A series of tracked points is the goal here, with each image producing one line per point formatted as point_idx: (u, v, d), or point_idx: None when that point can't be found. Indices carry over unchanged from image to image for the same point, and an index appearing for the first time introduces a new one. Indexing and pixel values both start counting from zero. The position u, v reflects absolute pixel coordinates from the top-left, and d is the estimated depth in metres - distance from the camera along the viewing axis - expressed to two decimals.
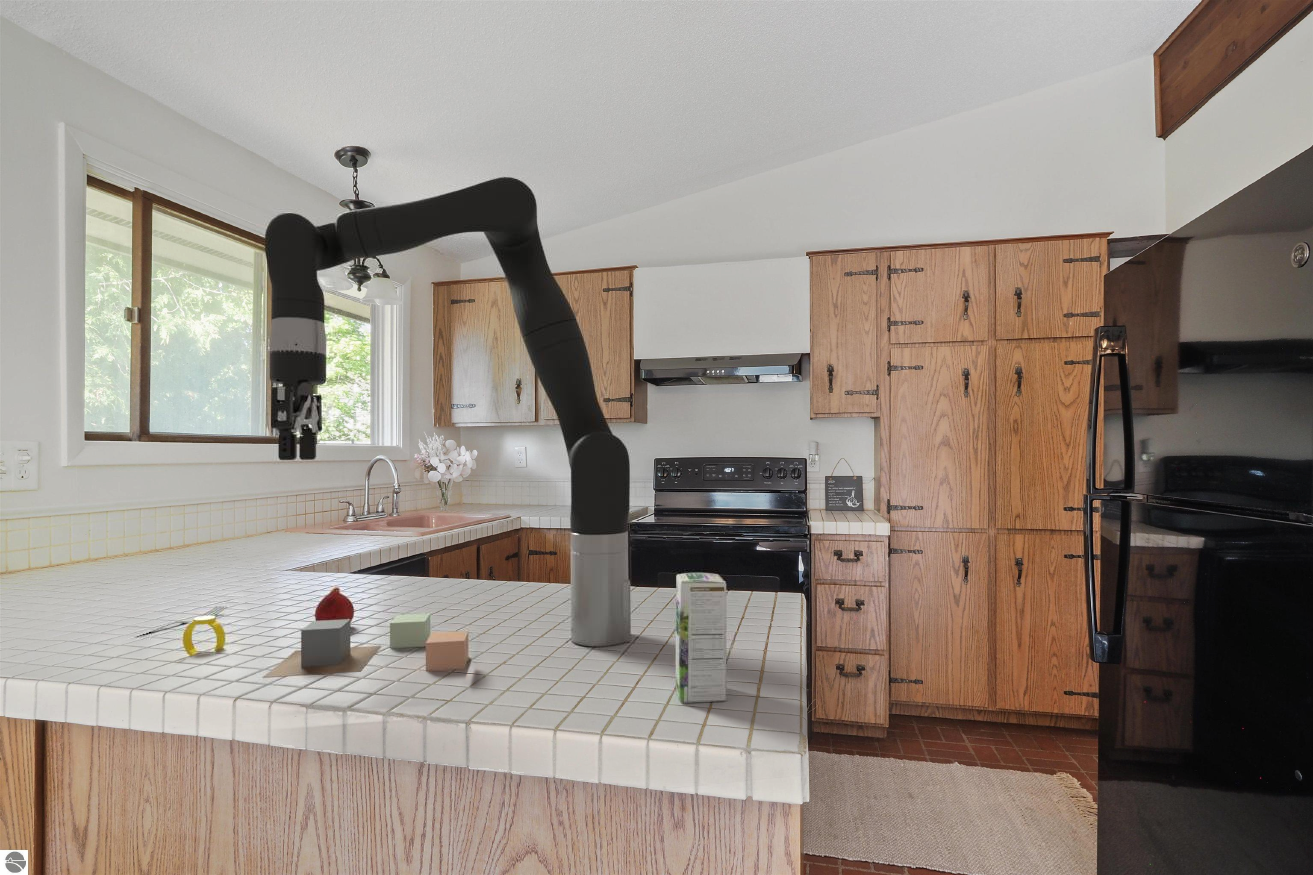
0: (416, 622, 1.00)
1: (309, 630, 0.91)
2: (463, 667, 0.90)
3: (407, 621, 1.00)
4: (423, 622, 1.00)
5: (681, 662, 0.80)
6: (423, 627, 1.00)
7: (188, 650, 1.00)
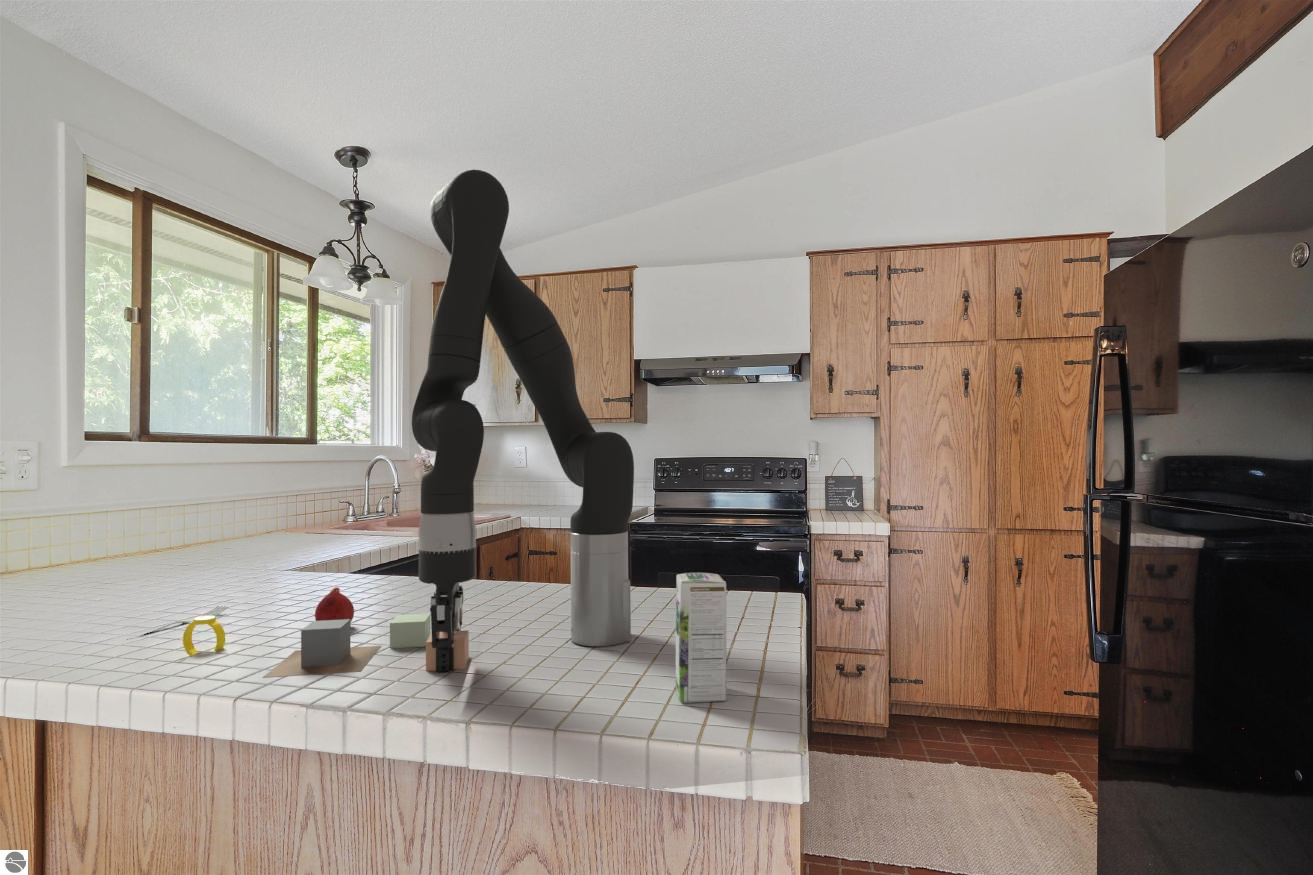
0: (416, 622, 1.00)
1: (309, 630, 0.91)
2: (463, 666, 0.90)
3: (406, 621, 1.00)
4: (423, 622, 1.00)
5: (681, 662, 0.80)
6: (423, 627, 1.00)
7: (188, 650, 1.00)
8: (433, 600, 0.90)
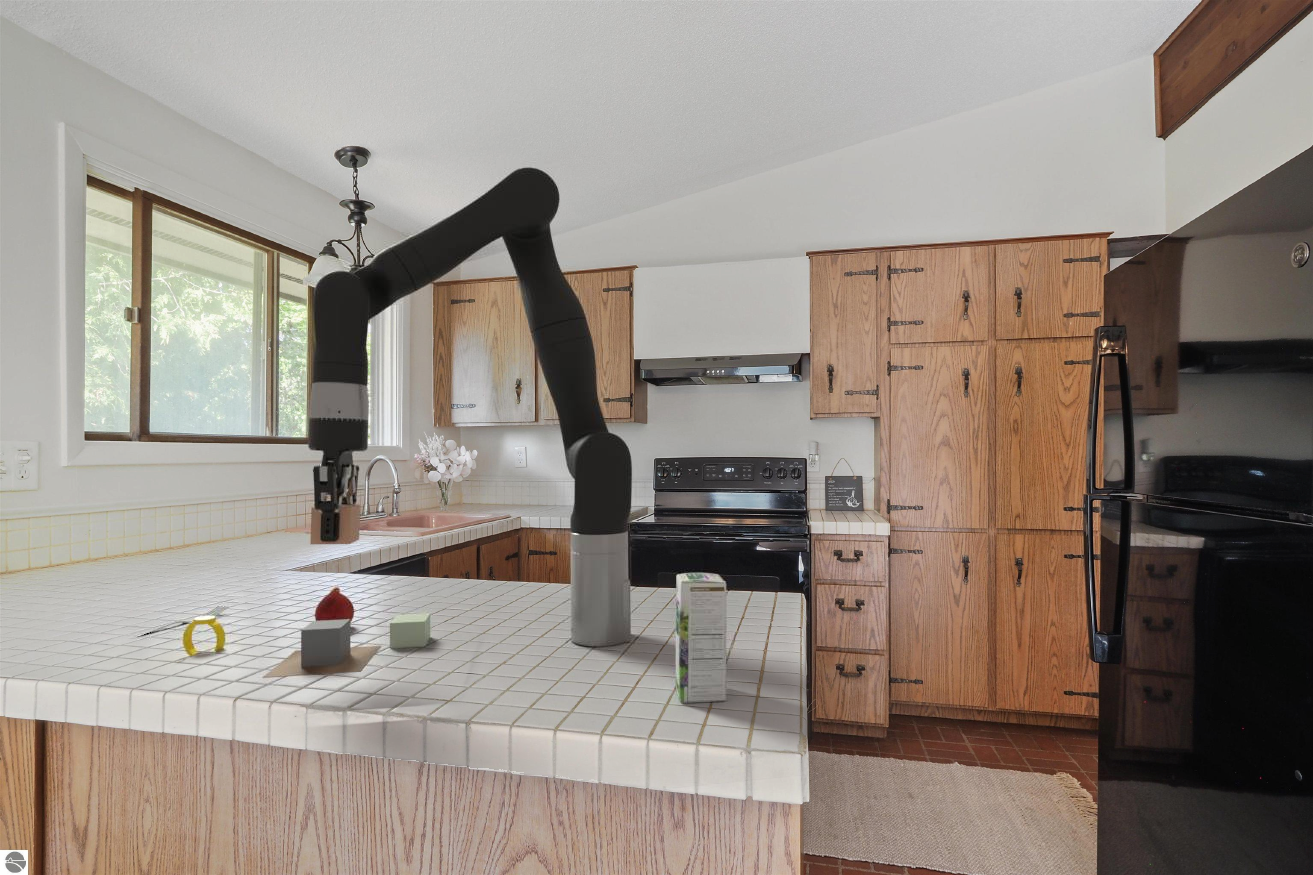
0: (416, 622, 1.00)
1: (309, 630, 0.91)
2: (348, 533, 0.91)
3: (406, 621, 1.00)
4: (423, 622, 1.00)
5: (681, 662, 0.80)
6: (423, 627, 1.00)
7: (188, 650, 1.00)
8: None
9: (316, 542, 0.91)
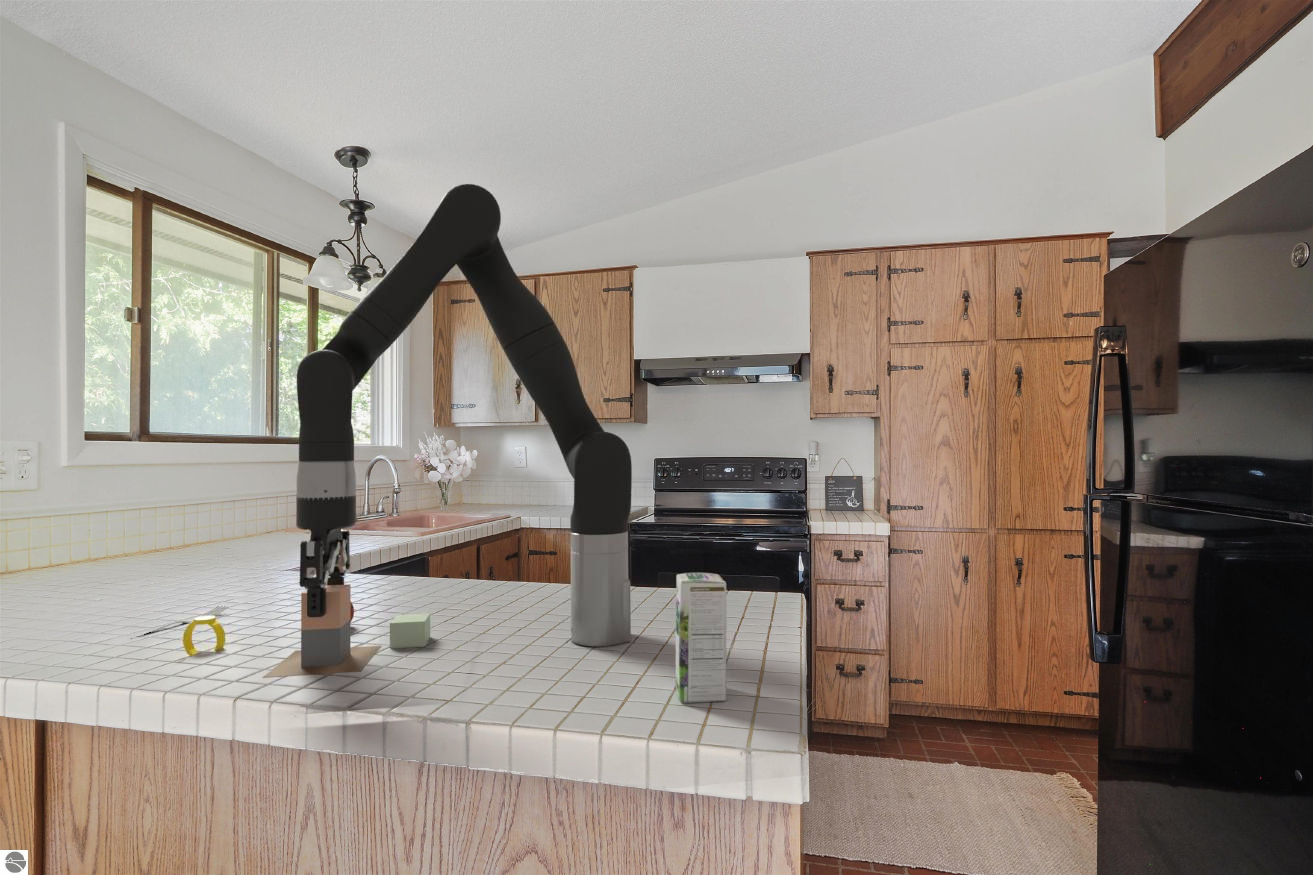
0: (416, 622, 1.00)
1: (309, 630, 0.91)
2: (339, 617, 0.92)
3: (406, 621, 1.00)
4: (423, 622, 1.00)
5: (681, 662, 0.80)
6: (423, 627, 1.00)
7: (188, 650, 1.00)
8: None
9: (307, 627, 0.91)
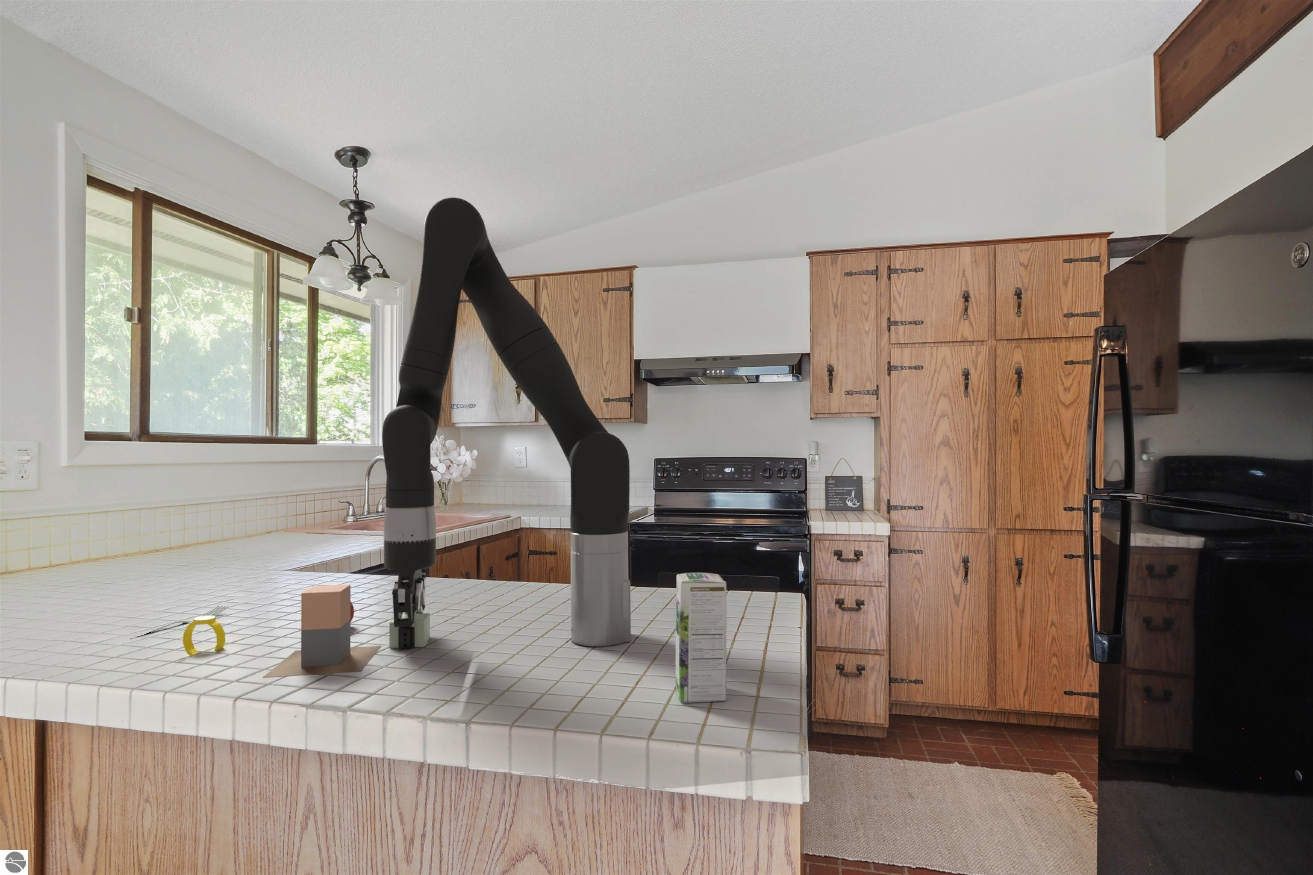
0: (416, 622, 1.00)
1: (309, 630, 0.91)
2: (339, 617, 0.92)
3: None
4: (423, 622, 1.00)
5: (681, 662, 0.80)
6: (423, 627, 1.00)
7: (188, 650, 1.00)
8: (396, 585, 1.00)
9: (307, 627, 0.91)
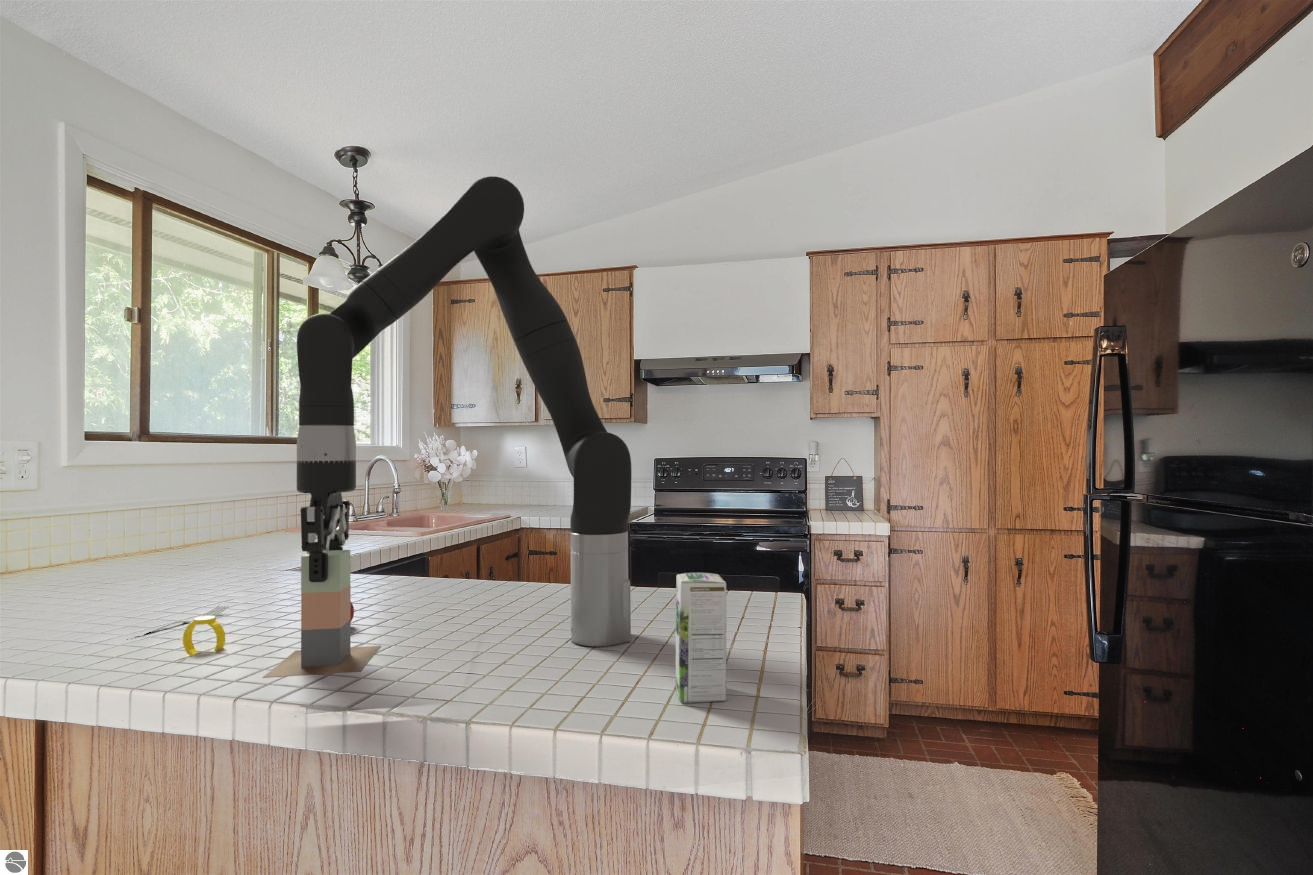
0: (330, 556, 0.92)
1: (309, 630, 0.91)
2: (339, 617, 0.92)
3: None
4: (338, 556, 0.92)
5: (681, 662, 0.80)
6: (338, 561, 0.92)
7: (188, 650, 1.00)
8: None
9: (307, 627, 0.91)
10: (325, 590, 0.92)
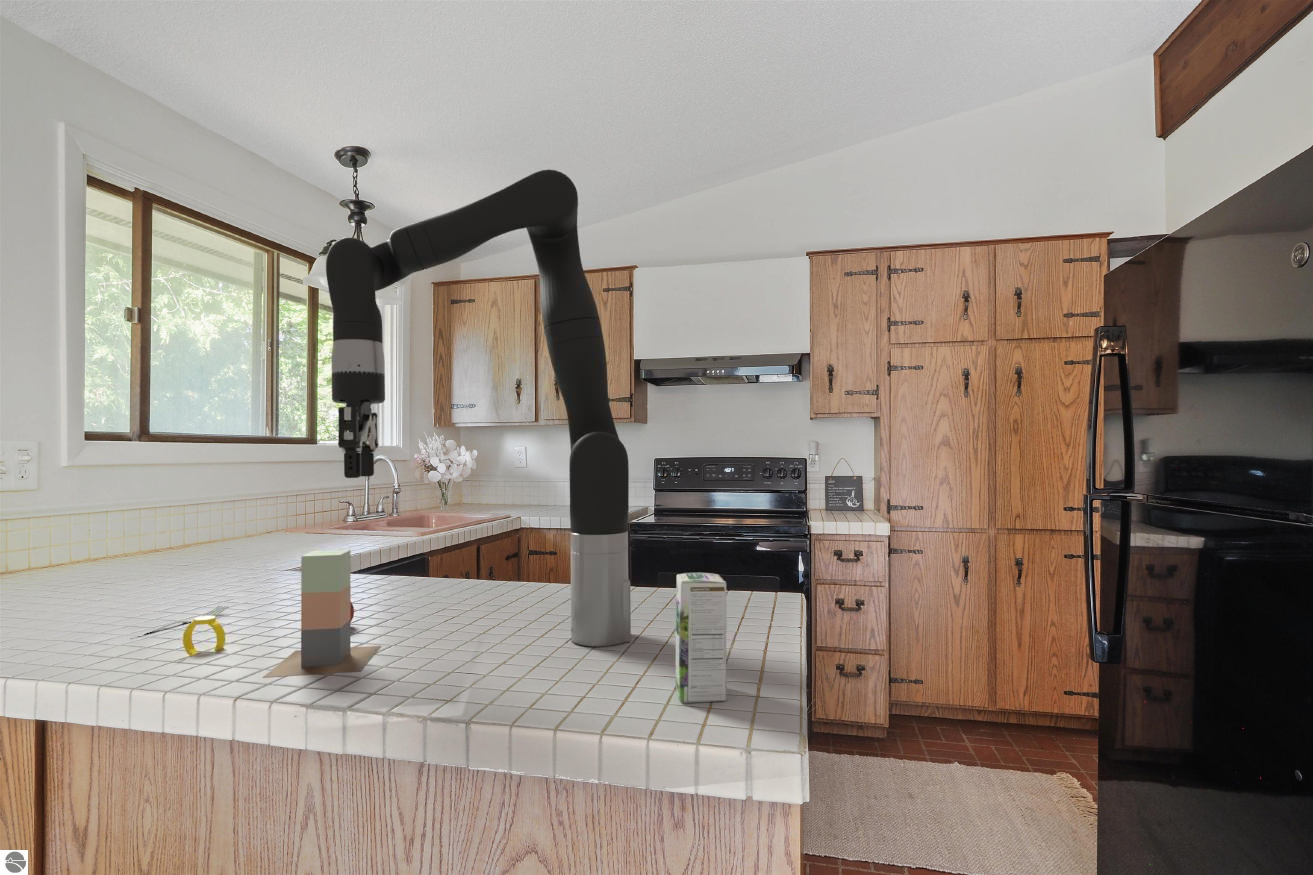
0: (331, 556, 0.92)
1: (309, 630, 0.91)
2: (339, 617, 0.92)
3: (320, 555, 0.92)
4: (338, 556, 0.92)
5: (681, 662, 0.80)
6: (338, 561, 0.92)
7: (188, 650, 1.00)
8: None
9: (307, 627, 0.91)
10: (325, 590, 0.92)
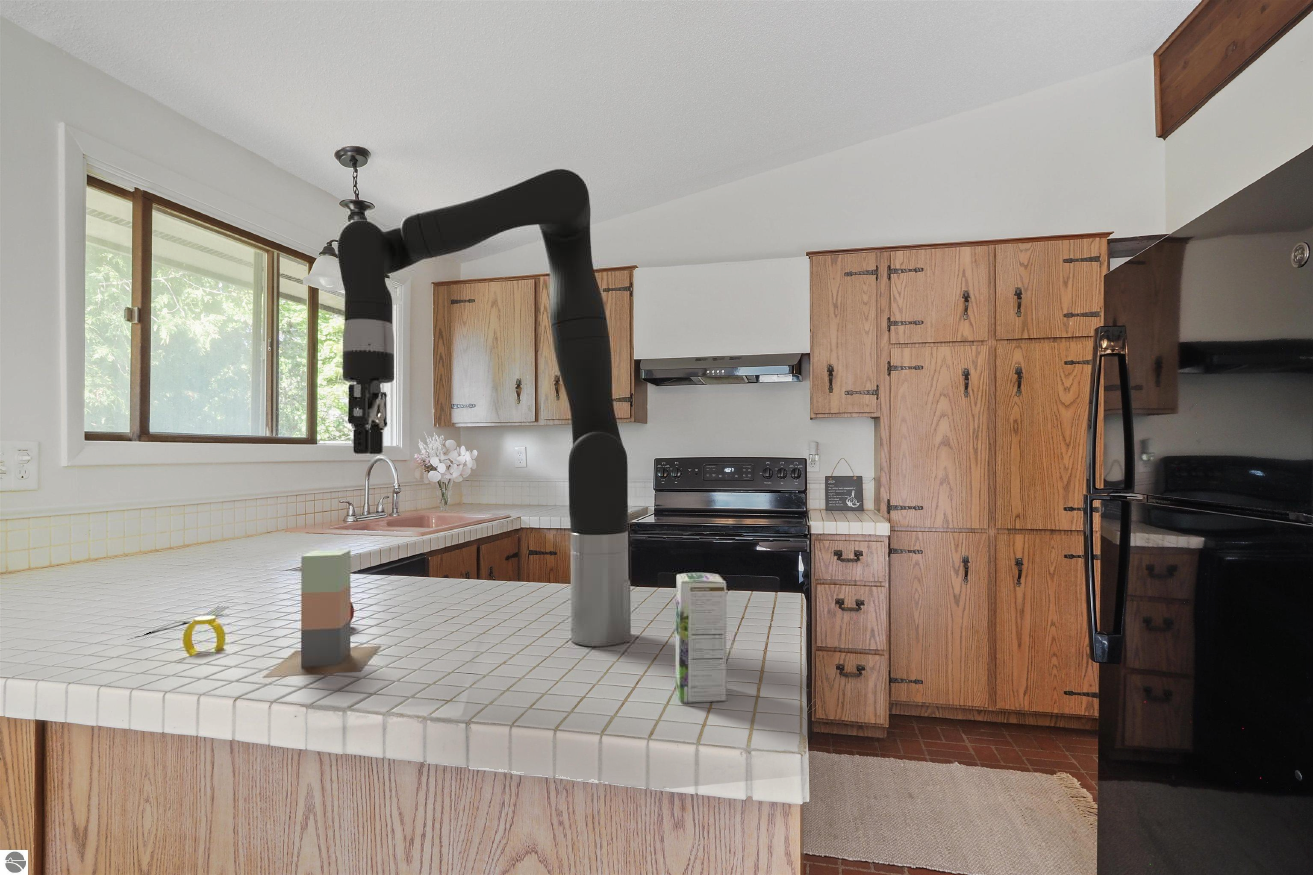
0: (331, 556, 0.92)
1: (309, 630, 0.91)
2: (339, 617, 0.92)
3: (320, 555, 0.92)
4: (338, 556, 0.92)
5: (681, 662, 0.80)
6: (338, 561, 0.92)
7: (188, 650, 1.00)
8: None
9: (307, 627, 0.91)
10: (325, 590, 0.92)
